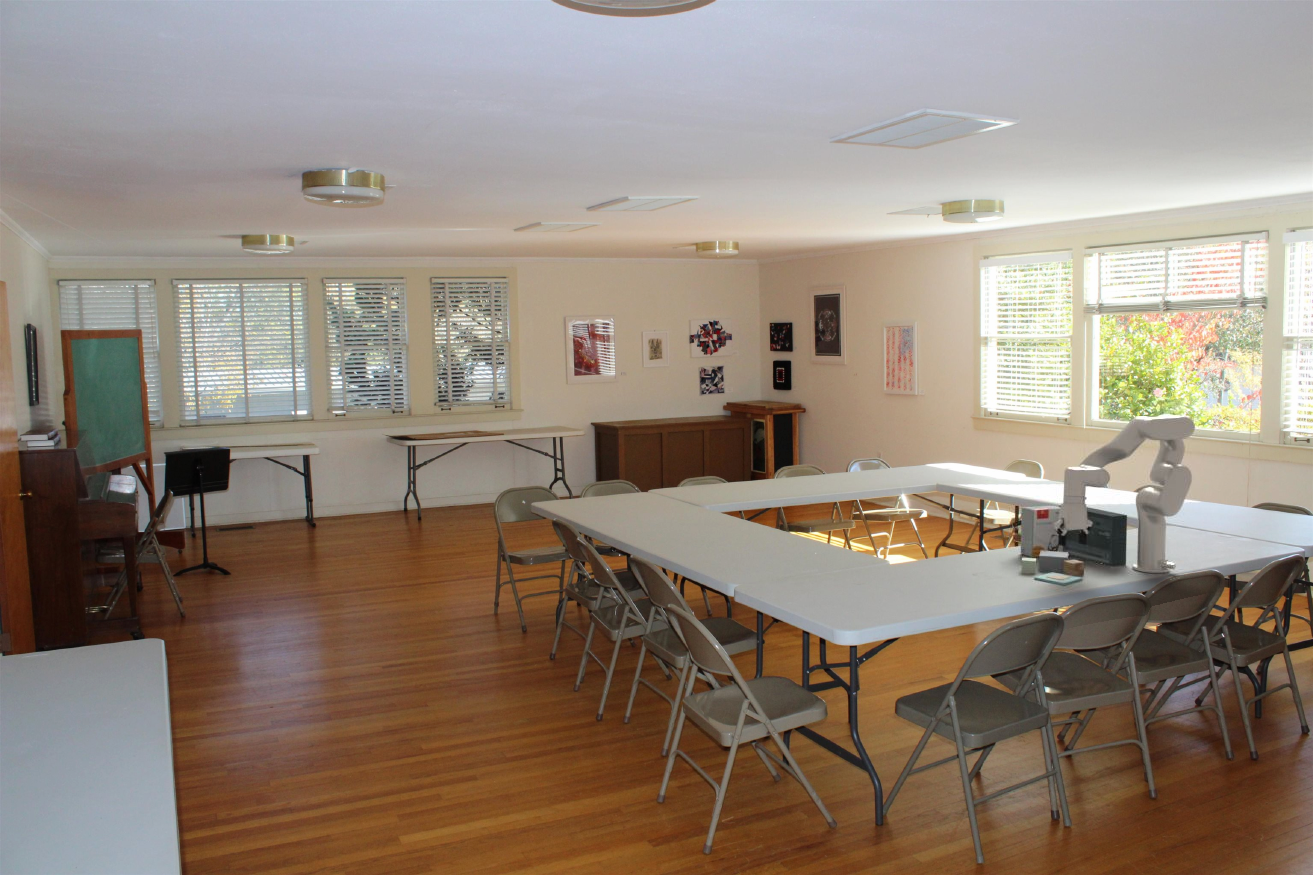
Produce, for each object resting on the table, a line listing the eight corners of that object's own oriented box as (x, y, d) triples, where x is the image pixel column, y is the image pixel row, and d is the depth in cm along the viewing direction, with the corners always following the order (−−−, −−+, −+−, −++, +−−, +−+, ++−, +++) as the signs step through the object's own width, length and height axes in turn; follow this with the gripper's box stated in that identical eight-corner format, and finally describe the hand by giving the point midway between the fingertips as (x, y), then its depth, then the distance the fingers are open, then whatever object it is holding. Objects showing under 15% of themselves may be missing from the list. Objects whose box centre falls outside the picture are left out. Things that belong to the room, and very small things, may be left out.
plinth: (1068, 567, 364) (1068, 552, 363) (1067, 572, 355) (1067, 557, 354) (1040, 565, 368) (1040, 550, 368) (1039, 570, 359) (1039, 555, 359)
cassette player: (1125, 565, 364) (1126, 515, 363) (1111, 566, 362) (1112, 516, 361) (1072, 550, 392) (1073, 504, 390) (1058, 552, 390) (1059, 505, 388)
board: (1082, 579, 343) (1082, 577, 342) (1064, 585, 336) (1064, 582, 336) (1052, 574, 352) (1052, 571, 352) (1034, 579, 345) (1034, 576, 345)
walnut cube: (1073, 572, 355) (1074, 559, 354) (1083, 575, 350) (1083, 562, 350) (1063, 573, 353) (1063, 560, 353) (1073, 576, 349) (1073, 563, 348)
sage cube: (1035, 571, 358) (1036, 558, 358) (1035, 573, 354) (1035, 561, 353) (1022, 570, 360) (1022, 557, 360) (1021, 573, 356) (1021, 560, 355)
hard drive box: (1031, 557, 381) (1032, 510, 379) (1019, 554, 388) (1020, 507, 386) (1063, 554, 385) (1064, 507, 383) (1051, 551, 392) (1051, 504, 390)
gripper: (1085, 497, 355) (1083, 541, 357) (1048, 499, 350) (1046, 544, 351) (1100, 500, 348) (1098, 545, 350) (1062, 502, 343) (1061, 547, 344)
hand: (1072, 544), depth 351 cm, fingers open, 9 cm apart
